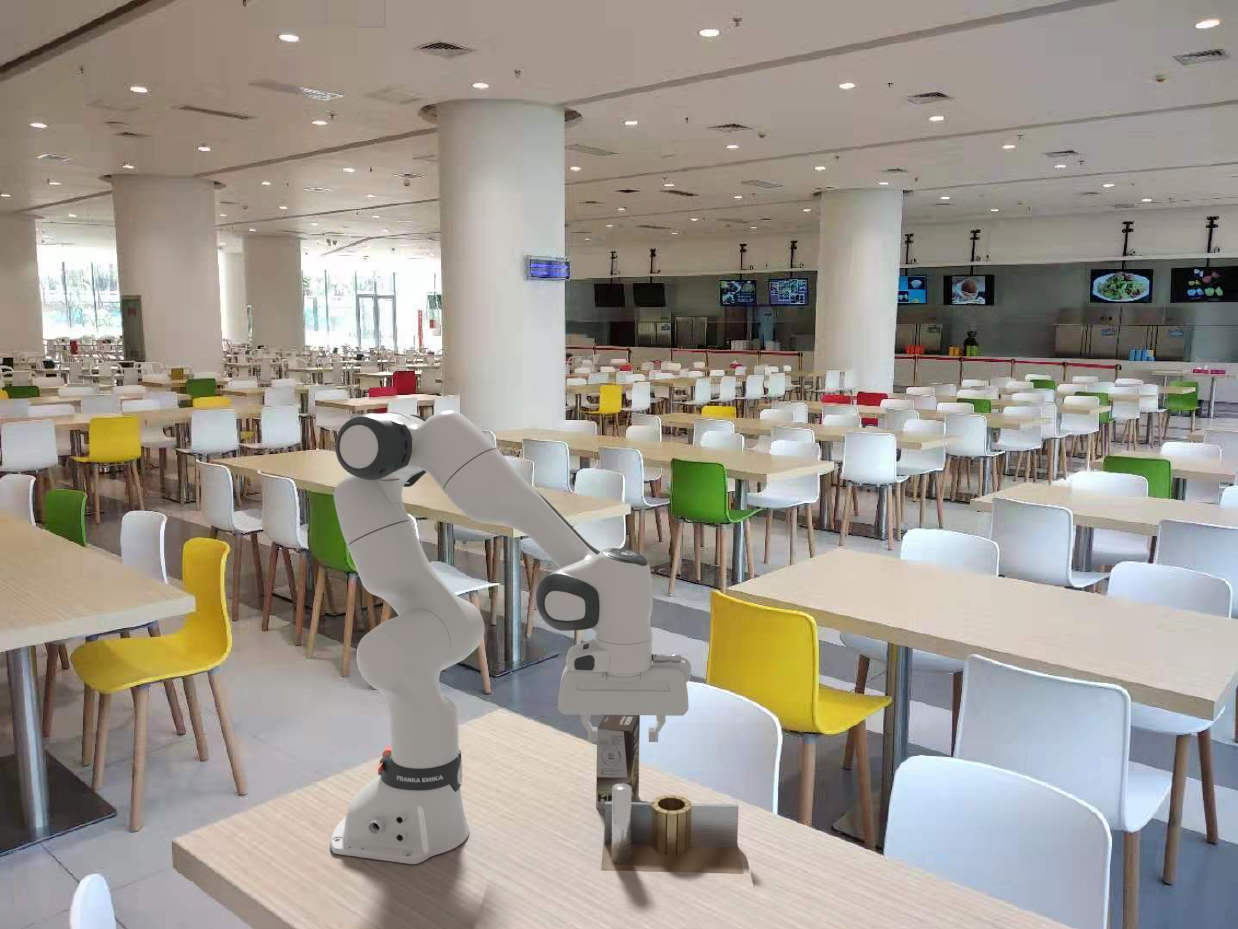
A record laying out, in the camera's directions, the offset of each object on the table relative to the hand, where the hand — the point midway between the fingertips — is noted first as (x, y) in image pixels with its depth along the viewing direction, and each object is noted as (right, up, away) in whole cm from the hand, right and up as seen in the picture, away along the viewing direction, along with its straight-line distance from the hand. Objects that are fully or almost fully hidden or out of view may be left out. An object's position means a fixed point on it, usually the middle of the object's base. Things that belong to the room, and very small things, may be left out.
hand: (623, 740), depth 149 cm
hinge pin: (0, -20, +2) cm, 20 cm away
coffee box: (-1, -19, +23) cm, 30 cm away
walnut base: (+8, -21, +5) cm, 23 cm away
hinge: (+8, -19, +7) cm, 22 cm away
